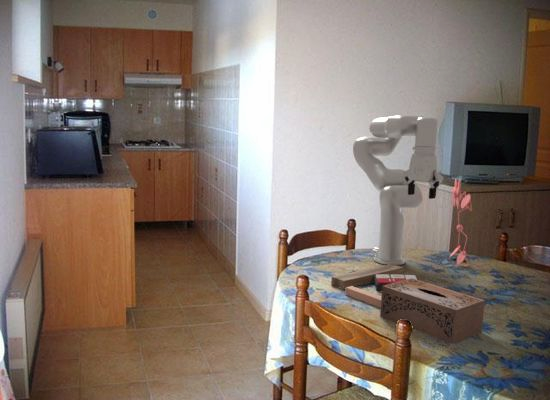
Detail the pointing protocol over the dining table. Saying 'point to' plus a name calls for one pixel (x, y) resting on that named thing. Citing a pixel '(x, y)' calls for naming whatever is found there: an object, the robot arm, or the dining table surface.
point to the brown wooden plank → (364, 276)
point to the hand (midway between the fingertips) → (421, 196)
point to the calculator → (389, 279)
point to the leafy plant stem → (464, 203)
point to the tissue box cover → (433, 309)
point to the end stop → (364, 296)
